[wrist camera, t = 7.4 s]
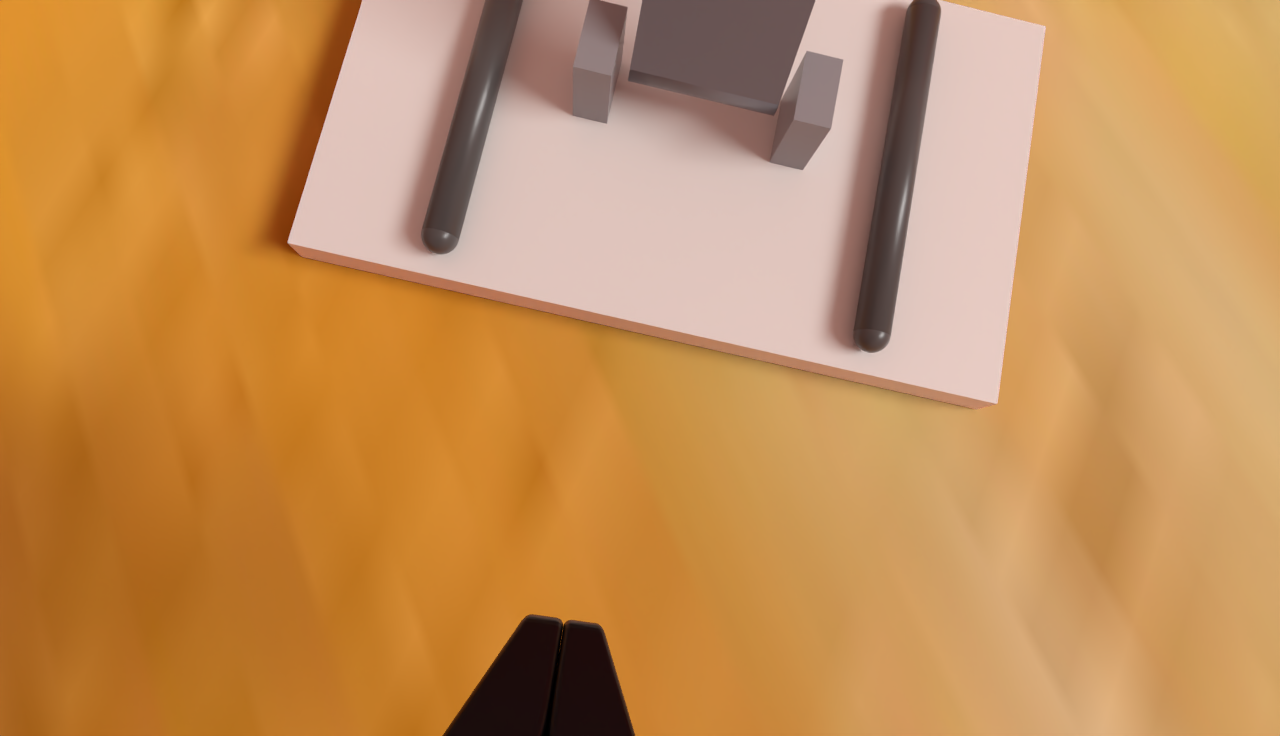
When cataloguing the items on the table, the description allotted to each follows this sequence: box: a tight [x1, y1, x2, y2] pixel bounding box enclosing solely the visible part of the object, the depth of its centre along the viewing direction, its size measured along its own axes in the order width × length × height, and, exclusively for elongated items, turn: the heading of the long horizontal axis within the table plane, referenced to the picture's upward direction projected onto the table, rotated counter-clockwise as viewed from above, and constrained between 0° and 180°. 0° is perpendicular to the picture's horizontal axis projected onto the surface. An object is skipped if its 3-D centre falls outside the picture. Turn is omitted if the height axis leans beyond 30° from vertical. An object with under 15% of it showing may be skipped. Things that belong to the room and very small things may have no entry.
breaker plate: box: [287, 0, 1046, 409], centre depth 23 cm, size 12×20×4 cm, turn 78°
